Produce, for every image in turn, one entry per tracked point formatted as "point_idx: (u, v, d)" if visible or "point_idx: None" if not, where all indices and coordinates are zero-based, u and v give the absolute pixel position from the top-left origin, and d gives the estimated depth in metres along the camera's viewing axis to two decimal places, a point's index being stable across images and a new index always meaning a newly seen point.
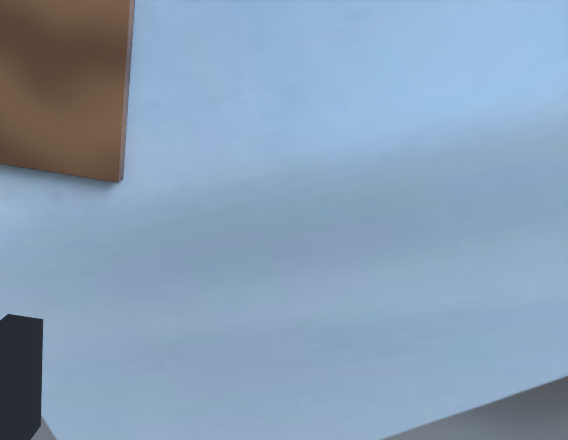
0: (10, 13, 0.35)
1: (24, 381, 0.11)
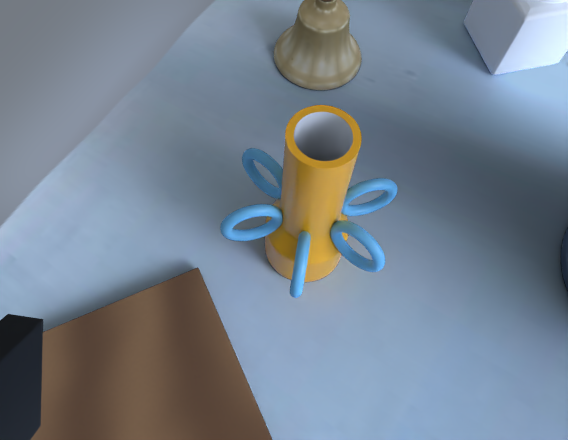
0: (99, 417, 0.34)
1: (24, 381, 0.11)
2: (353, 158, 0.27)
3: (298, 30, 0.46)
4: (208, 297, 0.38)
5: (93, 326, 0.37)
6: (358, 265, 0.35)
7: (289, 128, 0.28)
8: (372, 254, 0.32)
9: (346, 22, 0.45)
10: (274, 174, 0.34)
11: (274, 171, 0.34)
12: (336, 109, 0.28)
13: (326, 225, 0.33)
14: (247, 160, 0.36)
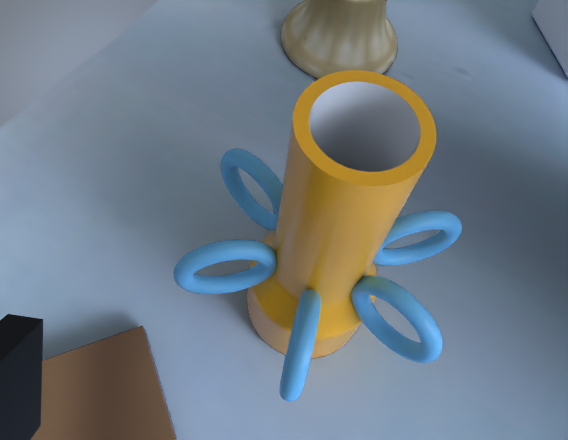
0: None
1: (24, 381, 0.11)
2: (421, 171, 0.14)
3: None
4: (152, 375, 0.24)
5: None
6: (393, 348, 0.22)
7: (301, 106, 0.15)
8: (423, 338, 0.19)
9: None
10: (268, 192, 0.21)
11: (268, 187, 0.21)
12: (389, 80, 0.15)
13: (347, 283, 0.20)
14: (228, 167, 0.23)
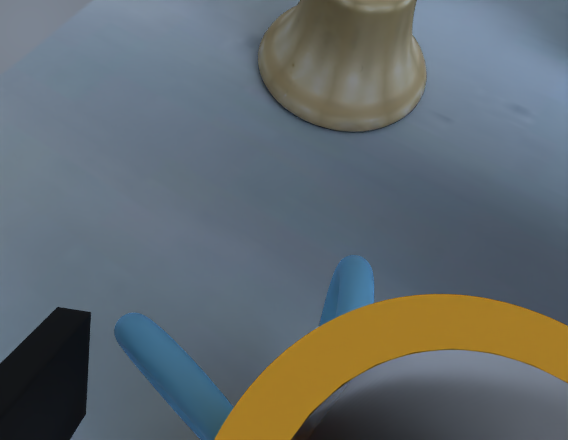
0: None
1: (75, 370, 0.11)
2: None
3: (310, 5, 0.22)
4: None
5: None
6: None
7: None
8: None
9: None
10: (198, 426, 0.10)
11: (198, 418, 0.10)
12: (556, 334, 0.04)
13: None
14: None
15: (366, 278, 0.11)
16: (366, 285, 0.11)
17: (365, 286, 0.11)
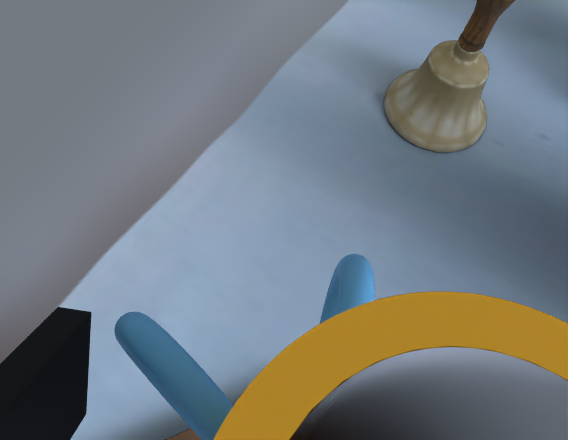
0: None
1: (75, 370, 0.11)
2: None
3: (425, 81, 0.38)
4: None
5: None
6: None
7: None
8: None
9: (487, 77, 0.37)
10: (198, 425, 0.10)
11: (199, 417, 0.10)
12: (556, 331, 0.04)
13: None
14: None
15: (366, 277, 0.11)
16: (366, 284, 0.11)
17: (365, 285, 0.11)
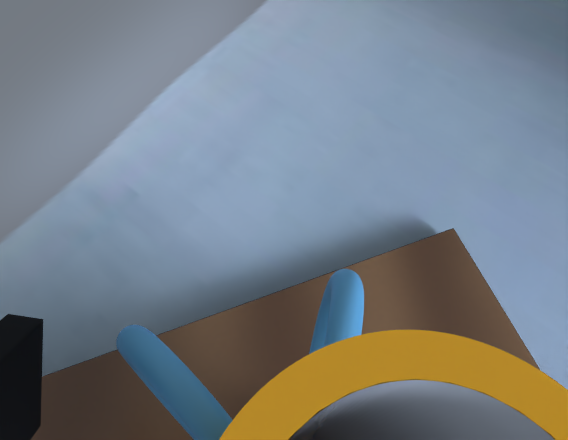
0: None
1: (24, 381, 0.11)
2: None
3: None
4: (480, 279, 0.22)
5: (289, 315, 0.20)
6: None
7: None
8: None
9: None
10: (195, 435, 0.11)
11: (196, 427, 0.10)
12: (508, 365, 0.05)
13: None
14: None
15: (356, 292, 0.12)
16: (356, 299, 0.12)
17: (355, 300, 0.12)
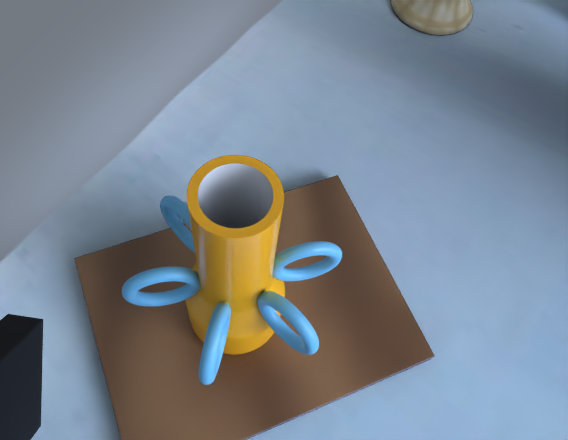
0: None
1: (24, 381, 0.11)
2: (270, 226, 0.21)
3: None
4: (349, 201, 0.40)
5: None
6: (289, 344, 0.29)
7: (193, 183, 0.22)
8: (302, 337, 0.26)
9: None
10: None
11: None
12: (256, 161, 0.23)
13: (249, 297, 0.27)
14: (165, 209, 0.30)
15: None
16: None
17: None
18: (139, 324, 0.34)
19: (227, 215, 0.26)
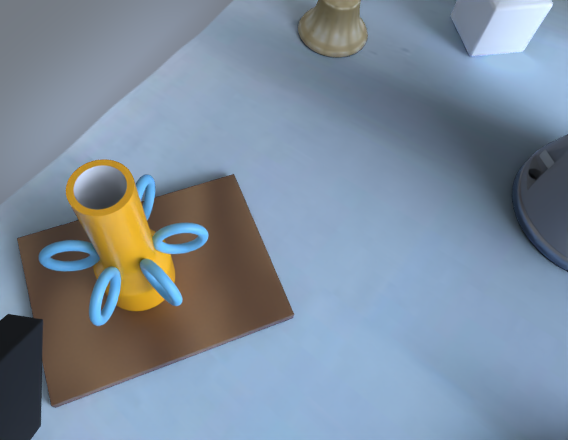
0: None
1: (24, 381, 0.11)
2: (122, 208, 0.31)
3: (320, 7, 0.58)
4: (240, 195, 0.50)
5: (153, 208, 0.48)
6: (165, 299, 0.39)
7: (72, 178, 0.32)
8: (166, 291, 0.36)
9: (358, 3, 0.57)
10: None
11: None
12: (118, 164, 0.33)
13: (130, 262, 0.37)
14: None
15: (144, 178, 0.40)
16: (143, 180, 0.40)
17: (143, 180, 0.40)
18: (64, 288, 0.44)
19: (111, 202, 0.36)
